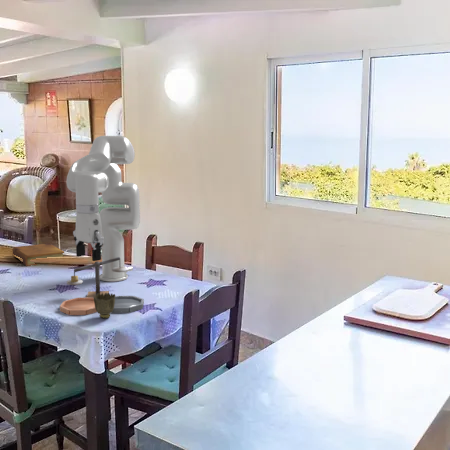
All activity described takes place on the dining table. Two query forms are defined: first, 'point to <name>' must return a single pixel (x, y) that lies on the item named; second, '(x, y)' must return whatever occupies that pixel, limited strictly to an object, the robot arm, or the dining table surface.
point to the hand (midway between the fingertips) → (88, 258)
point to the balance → (97, 264)
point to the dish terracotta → (78, 306)
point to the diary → (36, 252)
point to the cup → (104, 304)
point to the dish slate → (127, 304)
